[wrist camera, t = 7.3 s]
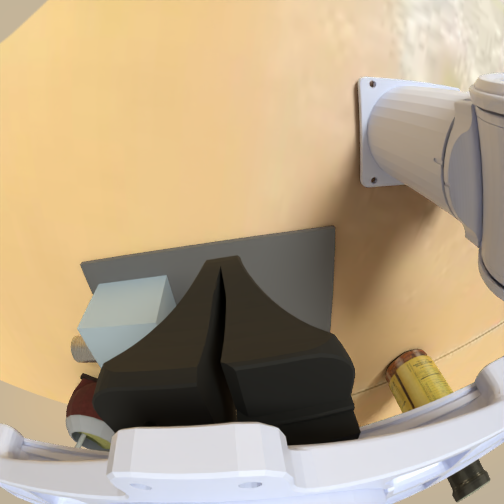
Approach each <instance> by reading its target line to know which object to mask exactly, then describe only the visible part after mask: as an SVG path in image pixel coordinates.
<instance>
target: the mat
mask: <svg viewBox="0 0 504 504" xmlns="http://www.w3.org/2000/svg"><path fill="white" fill-rule="evenodd" d="M235 255H238V256H239V257H241V261H242V263H243V265H244V267H245V269H246V270H247V272H248V273H249V275H250V276H251V277H252V279H253V280H254V281H255V282H256V284H257V285H258V286H259V287H260V288H261V289H262V290H263V291H264V292H265V293H266V294H267V295H268V296H269V297H270V298H271V299H272V300H273V301H274V302H275V303H277V304H278V305H279V306H280V307H282V308H283V309H284V310H286V311H287V312H289V313H290V314H292V315H293V316H295V317H296V318H298V319H300V320H301V321H303V322H305V323H307V324H309V325H311V326H314V327H316V328H319V329H321V330H324V331H327V332H329V333H330V326H331V313H332V298H333V281H334V257H335V227H334V226H327V227H320V228H312V229H304V230H297V231H289V232H282V233H275V234H267V235H260V236H253V237H246V238H239V239H232V240H225V241H218V242H211V243H204V244H197V245H190V246H183V247H177V248H170V249H163V250H157V251H150V252H143V253H137V254H130V255H124V256H118V257H111V258H105V259H99V260H92V261H86V262H82V263H81V264H80V265H81V268H82V270H83V273H84V275H85V277H86V280H87V282H88V284H89V287H90V289H91V291H92V293H93V295H94V293H95V291H96V289H97V287H98V285H99V284H103V283H110V282H118V281H126V280H134V279H141V278H149V277H156V276H164V275H167V278H168V281H169V284H170V287H171V291H172V294H173V297H174V300H175V303H176V306H177V304H178V303H179V302H180V300H181V299H182V298H183V296H184V295H185V294H186V292H187V291H188V289H189V288H190V286H191V285H192V283H193V281H194V280H195V278H196V277H197V275H198V273H199V271H200V270H201V268H202V266H203V264H204V263H205V261H206V260H210V259H216V258H222V257H229V256H235Z"/></svg>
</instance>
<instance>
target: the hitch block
mask: <svg viewBox="0 0 504 504" xmlns="http://www.w3.org/2000/svg"><path fill="white" fill-rule="evenodd" d="M175 307H176V303H175V300H174V297H173V294H172V291H171V287H170V284H169V281H168V278H167V275H164V276H156V277H149V278H141V279H134V280H126V281H118V282H110V283H103V284H99V285H98V287H97V289H96V291H95V293H94V295H93V297H92V299H91V301H90V303H89V305H88V307H87V309H86V311H85V313H84V315H83V317H82V319H81V322H80V324H79V326H78V328H77V329H78V331H79V333H80V334H81V336H82V338H83V340H84V341H85V343H86V345H87V346H88V348H89V350H90V351H91V353H92V355H93V356H94V358H95V360H96V361H97V363H98V364H99V366H100V367H101V368H102V366H103V363H105V362H107V361H109V360H110V359H112V358H114V357H115V356H117V355H119V354H120V353H122V352H124V351H125V350H127V349H128V348H130V347H131V346H133V345H134V344H136V343H137V342H138V341H140V340H141V339H142V338H144V337H145V336H146V335H147V334H149V333H150V332H151V331H152V330H153V329H154V328H155V327H156V326H157V325H159V324H160V323H161V322H162V321H163V320H164V319H165V318H166V317H167V316H168V315H169V314H170V313H171V311H172V310H173V309H174V308H175Z"/></svg>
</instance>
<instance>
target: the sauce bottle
mask: <svg viewBox="0 0 504 504" xmlns="http://www.w3.org/2000/svg"><path fill="white" fill-rule="evenodd" d="M386 379H387V382H388V383H389V387H390V389H391V391H392V393H393V395H394V397H395V399H396V401H397V403H398V405H399V407H400V409H401V411H402V413H405V412H407V411H410V410H413V409H415V408H418V407H420V406H423V405H425V404H428V403H430V402H433V401H435V400H437V399H440V398H442V397H444V396H447V395H449V394H451V393H453V391H452V389H451V388H450V386H449V385H448V383H447V382H446V380H445V378H444V377H443V375H442V374H441V372H440V371H439V369H438V368H437V366H436V365H435V363H434V362H433V360H432V359H431V358H430V357H429V356H427V354H426V353H425V352H424V351H423V350H419V349H415V350H410V351H408V352H405V353H403V354H402V355H401V356H399V357H398V358H397V359H396V360H394V361H393V362H392V363H391V364H390V366H389V367H388V369H387V372H386ZM447 479H448V481H449V482H450V485H451V487H452V489H453V497H454V499H455V501H456V502H459V501H461V500H463V499H465V498H466V497H468V496H470V495H471V494H473V493H474V492H476V491H477V490H479V489H480V488H481V487H483V486H484V485H486V484H487V483H489V481H490V478H489V475H488V473H487V472H486V471H485V470H484V469H483V467H482V465H481V463H480V461H479V459H478V460H476V461H474V462H473V463H471V464H470V465H468V466H466V467H465V468H463V469H461V470H460V471H458V472H456V473H454V474H453V475H451V476H449V477H447Z"/></svg>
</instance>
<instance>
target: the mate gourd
mask: <svg viewBox="0 0 504 504" xmlns="http://www.w3.org/2000/svg"><path fill="white" fill-rule="evenodd" d="M81 379H82V381H81V382H80V383H79V385H78V386H77V387H76V389H75V390H74V392H73V394H72V396H71V399H70V401H69V403H68V406H67V411H66V412H67V413H66V427H67V430H68V432H69V435H70V436H71V438H72V439H73V440H74V441H75V442H77V444H76V446H75V448H80V447H81V446H83V447H85V448H87V449H90V450H97V451H107V452H110V446H111V440H112V437H113V435H114V434H115V432H114V431H113V430H112V429H111V428H110V427H109V426H108V425H107V424H106V423H105V422H104V421H103V420H102V419H101V418H100V416H99V415H98V414H97V412H96V411H95V409H94V408H93V404H92V399H93V395H94V392H95V388H96V384H97V380H98V379H97V378H94V377H91V376H89V375H86V374H84V373H83V374H82V375H81Z"/></svg>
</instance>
